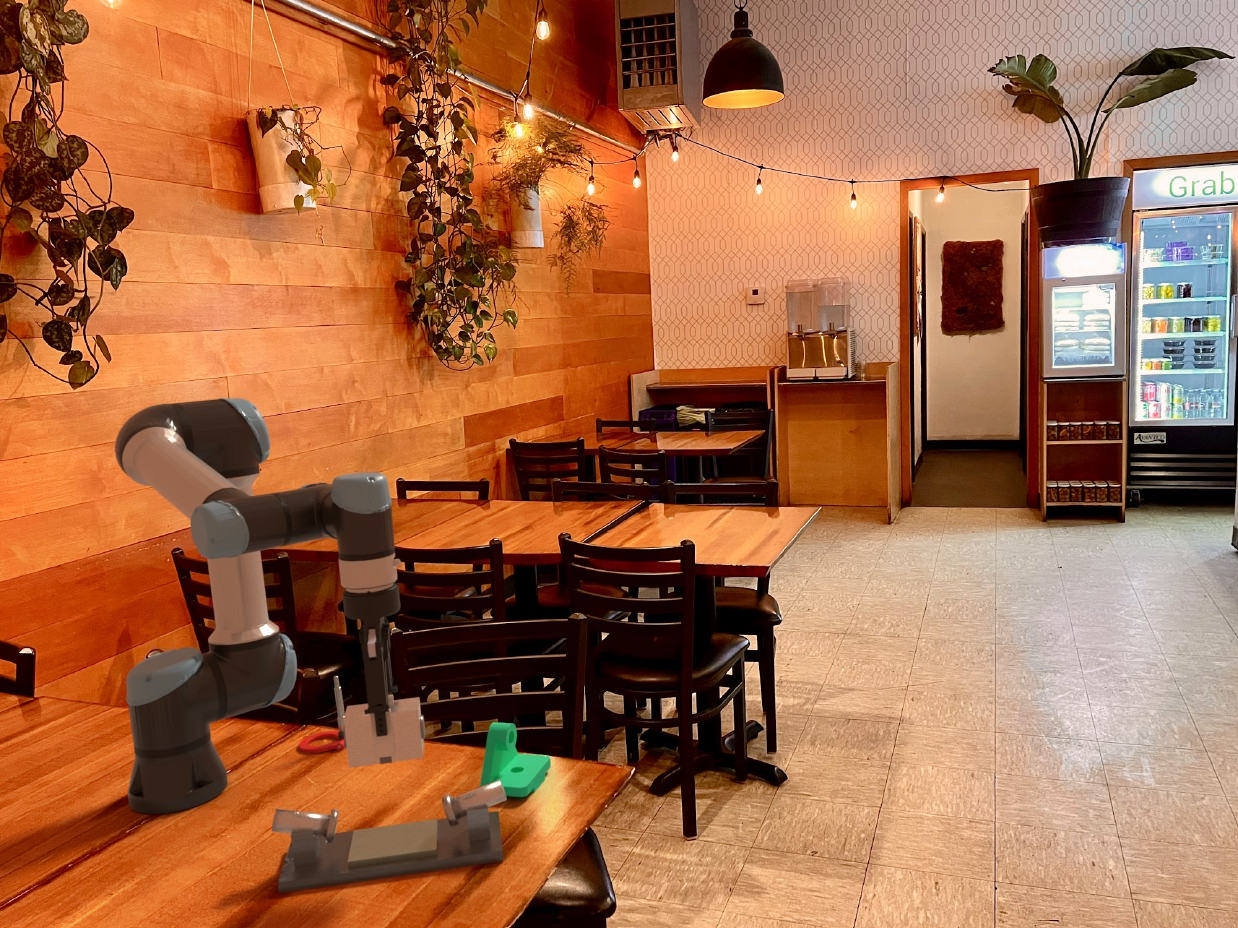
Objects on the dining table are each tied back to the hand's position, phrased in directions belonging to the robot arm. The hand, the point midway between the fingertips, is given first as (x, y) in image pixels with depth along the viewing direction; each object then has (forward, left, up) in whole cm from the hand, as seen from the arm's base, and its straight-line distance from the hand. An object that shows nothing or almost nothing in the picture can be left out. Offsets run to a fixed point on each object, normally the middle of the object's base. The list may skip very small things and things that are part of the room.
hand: (386, 747), depth 139 cm
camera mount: (+19, +18, -16) cm, 31 cm away
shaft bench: (0, 0, -16) cm, 16 cm away
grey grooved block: (0, 0, -1) cm, 1 cm away
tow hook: (-15, +45, -16) cm, 50 cm away
